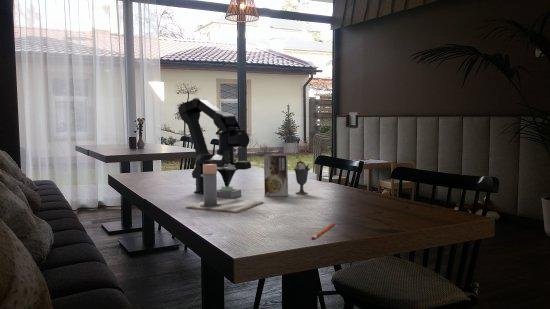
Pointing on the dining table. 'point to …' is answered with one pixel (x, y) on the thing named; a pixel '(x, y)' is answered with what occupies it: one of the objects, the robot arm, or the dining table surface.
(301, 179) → the sundae
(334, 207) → the dining table surface
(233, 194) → the button collar
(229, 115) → the robot arm
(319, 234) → the pencil
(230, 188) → the button
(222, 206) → the board
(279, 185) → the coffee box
